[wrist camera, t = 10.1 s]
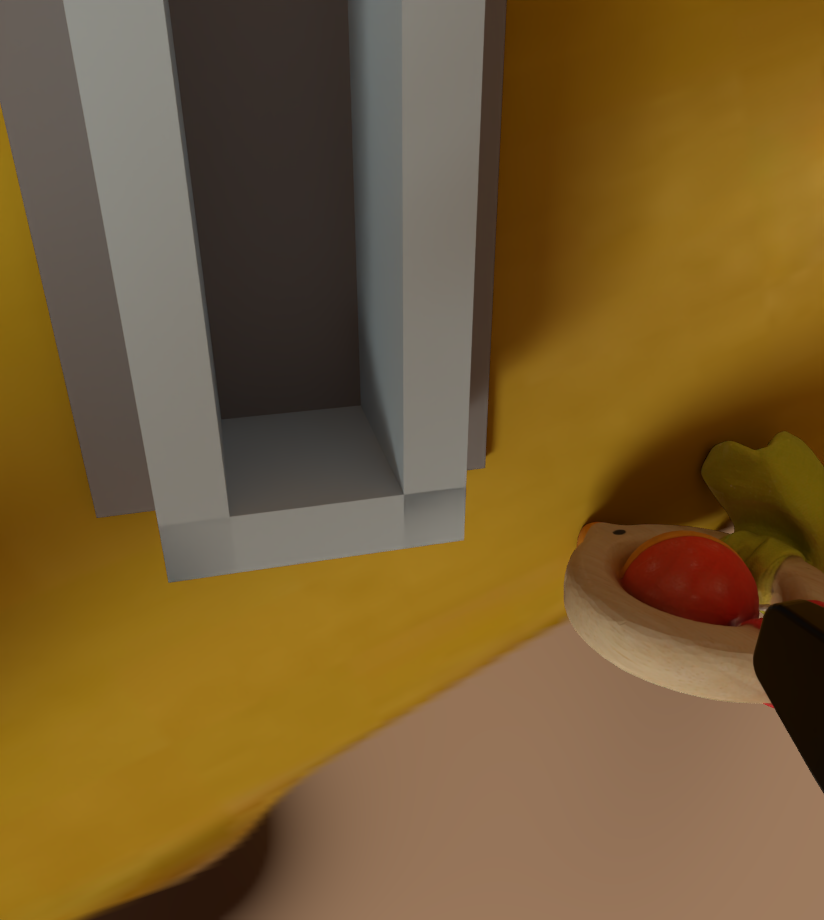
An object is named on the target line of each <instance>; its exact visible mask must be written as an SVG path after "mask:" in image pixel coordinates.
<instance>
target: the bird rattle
mask: <svg viewBox="0 0 824 920" xmlns="http://www.w3.org/2000/svg"><path fill="white" fill-rule="evenodd" d="M701 475H702V477H703V479H704V481H705V482H706V484H707V485H708V487H709V489H710V490H711V492H712V493H713V494H714V496H715V497H716V499H717V500H718V502H719V503H720V504H721V506H722V507H723V508H724V509H725V511H726V512H727V514H728V515H729V517H730V519H731V521H732V522H733V524H734V533H732V534H728V533H724V532H720V531H715V530H710V529H704V528H697V527H690V526H678V525H663V524H640V525H617V524H610V523H605V522H592V523H589V524H587V525H585V526H584V527H583V528H582V529H581V531H580V533H579V536H578V542H577V548H576V549H575V550H574V552H573V554H572V555H571V558H570V560H569V562H568V565H567V569H566V573H565V581H564V604H565V609H566V612H567V615H568V617H569V620H570V622H571V624H572V625H573V627H574V629H575V630H576V632H577V633H578V634H579V635H580V637H581V638H582V639H583V640H585V642H586V643H587V644H588V645H590V647H592V648H593V649H594V650H595V651H596V652H598V653H599V654H600V655H601V656H602V657H604V658H605V659H607V660H608V661H610V662H611V663H613V664H615V665H616V666H617V667H619V668H620V669H622V670H624V671H626V672H628V673H630V674H632V675H635V676H637V677H639V678H641V679H644V680H646V681H648V682H651V683H653V684H657V685H659V686H662V687H665V688H669V689H672V690H674V691H678V692H681V693H686V694H689V695H694V696H698V697H703V698H707V699H712V700H719V701H727V702H739V703H763V704H765V705H767V706H770V707H772V708H774V707H773V705H772V703H771V701H770V700H769V698H768V696H767V694H766V693H765V691H764V689H763V687H762V686H761V684H760V682H759V680H758V678H757V676H756V674H755V671H754V666H753V653H754V650H755V646H756V642H757V638H758V635H759V631H760V627H761V623H762V620H763V618H759V611H760V612H761V613H763V614H764V613H765V611H766V609H767V608H768V607H769V606H770V605H772V604H774V603H779V602H785V601H790V600H796V599H803V600H807V601H810V602H813V603H815V604H817V605H820V606H822V607H824V466H823V465H822V463H821V462H820V461H819V459H818V458H817V457H816V455H815V454H814V453H813V451H812V450H811V449H810V448H809V447H808V446H807V445H806V444H805V443H804V442H803V441H802V440H801V439H800V438H798V437H796V436H794V435H792V434H790V433H788V432H787V431H782V432H780V433H778V434H776V435H775V436H774V438H773V439H772V440H771V441H770V442H769V443H768V446H767V447H764V448H761V449H758V450H754V449H751V448H749V447H746V446H744V445H742V444H739V443H737V442H734V441H725V442H722V443H719V444H717V445H715V446H714V447H713V448H712V449H711V451H710V453H709V454H708V456H707V458H706V460H705V462H704V464H703V466H702V469H701Z"/></svg>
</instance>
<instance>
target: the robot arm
mask: <svg viewBox="0 0 824 920" xmlns="http://www.w3.org/2000/svg"><path fill="white" fill-rule="evenodd" d="M753 666H754V671H755V674H756V676H757V678H758V680H759V682H760V684H761V686H762V687H763V689H764V691H765V693H766V694H767V696H768V698H769V700H770V701H771V703H772V705H773V707H774V708H775V710H776V712H777V714H778V715H779V717H780V719H781V721H782V722H783V724H784V726H785V728H786V730H787V731H788V733H789V735H790V737H791V738H792V740H793V742H794V743H795V745H796V747H797V749H798V751H799V752H800V754H801V756H802V757H803V759H804V761H805V763H806V765H807V766H808V768H809V770H810V772H811V773H812V775H813V777H814V778H815V780H816V782H817V783H818V785H819V787H820V788H821V790H822V791H823V793H824V607H822V606H820V605H817V604H815V603H813V602H810V601H807V600H803V599H796V600H790V601H785V602H779V603H774V604H772V605H770V606H769V607H768V608H767V609H766V611H765V613H764V616H763V620H762V623H761V627H760V631H759V635H758V638H757V642H756V646H755V650H754V653H753Z"/></svg>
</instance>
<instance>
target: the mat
mask: <svg viewBox="0 0 824 920" xmlns="http://www.w3.org/2000/svg"><path fill="white" fill-rule="evenodd" d="M168 2H169V10H170V18H171V26H172V34H173V42H174V50H175V58H176V65H177V73H178V81H179V89H180V97H181V105H182V113H183V121H184V129H185V137H186V145H187V152H188V160H189V168H190V176H191V184H192V192H193V200H194V208H195V216H196V224H197V232H198V240H199V247H200V255H201V263H202V271H203V279H204V287H205V295H206V303H207V311H208V319H209V327H210V334H211V342H212V350H213V358H214V366H215V374H216V382H217V390H218V398H219V406H220V414H221V419H231V418H241V417H250V416H260V415H270V414H280V413H290V412H300V411H310V410H320V409H330V408H339V407H349V406H359V405H361V396H360V365H359V334H358V303H357V272H356V241H355V210H354V180H353V149H352V118H351V87H350V56H349V25H348V0H168ZM506 3H507V0H485V20H484V46H483V71H482V96H481V121H480V146H479V171H478V196H477V221H476V247H475V272H474V297H473V322H472V347H471V372H470V397H469V423H468V448H467V470H472V469H480V468H485V457H486V435H487V414H488V392H489V370H490V349H491V327H492V306H493V284H494V262H495V241H496V219H497V198H498V176H499V154H500V133H501V111H502V90H503V68H504V46H505V25H506ZM0 103H1V107H2V112H3V116H4V120H5V125H6V129H7V133H8V138H9V142H10V146H11V151H12V155H13V159H14V163H15V168H16V172H17V176H18V181H19V185H20V189H21V194H22V198H23V202H24V206H25V211H26V215H27V219H28V224H29V228H30V232H31V237H32V241H33V245H34V250H35V254H36V258H37V262H38V267H39V271H40V275H41V280H42V284H43V288H44V293H45V297H46V301H47V306H48V310H49V314H50V318H51V323H52V327H53V331H54V336H55V340H56V344H57V349H58V353H59V357H60V361H61V366H62V370H63V374H64V379H65V383H66V387H67V392H68V396H69V400H70V405H71V409H72V413H73V417H74V422H75V426H76V430H77V435H78V439H79V443H80V448H81V452H82V456H83V460H84V465H85V469H86V473H87V478H88V482H89V486H90V491H91V495H92V499H93V504H94V508H95V512H96V516H97V518H100V517H108V516H115V515H123V514H131V513H139V512H146V511H154V510H155V505H154V499H153V494H152V488H151V483H150V477H149V471H148V466H147V460H146V455H145V449H144V444H143V438H142V433H141V427H140V422H139V416H138V411H137V405H136V400H135V394H134V389H133V383H132V378H131V372H130V367H129V361H128V356H127V350H126V345H125V339H124V334H123V328H122V323H121V317H120V312H119V306H118V301H117V295H116V290H115V284H114V279H113V273H112V268H111V262H110V257H109V251H108V246H107V240H106V235H105V229H104V224H103V218H102V213H101V207H100V202H99V196H98V191H97V185H96V180H95V174H94V169H93V163H92V158H91V152H90V147H89V141H88V136H87V130H86V125H85V119H84V114H83V108H82V103H81V97H80V92H79V86H78V81H77V75H76V70H75V64H74V59H73V53H72V48H71V42H70V36H69V31H68V25H67V20H66V14H65V9H64V3H63V0H0Z"/></svg>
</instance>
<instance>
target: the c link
mask: <svg viewBox="0 0 824 920" xmlns="http://www.w3.org/2000/svg"><path fill="white" fill-rule="evenodd" d="M63 3H64V9H65V14H66V20H67V25H68V31H69V36H70V42H71V48H72V53H73V59H74V64H75V70H76V75H77V81H78V86H79V92H80V97H81V103H82V108H83V114H84V119H85V125H86V130H87V136H88V141H89V147H90V152H91V158H92V163H93V169H94V174H95V180H96V185H97V191H98V196H99V202H100V207H101V213H102V218H103V224H104V229H105V235H106V240H107V246H108V251H109V257H110V262H111V268H112V273H113V279H114V284H115V290H116V295H117V301H118V306H119V312H120V317H121V323H122V328H123V334H124V339H125V345H126V350H127V356H128V361H129V367H130V372H131V378H132V383H133V389H134V394H135V400H136V405H137V411H138V416H139V422H140V427H141V433H142V438H143V444H144V449H145V455H146V460H147V466H148V471H149V477H150V483H151V488H152V494H153V499H154V505H155V510H156V516H157V521H158V527H159V532H160V538H161V543H162V549H163V554H164V560H165V565H166V571H167V576H168V582H176V581H183V580H190V579H197V578H204V577H211V576H218V575H224V574H231V573H238V572H245V571H252V570H259V569H266V568H273V567H280V566H287V565H294V564H301V563H308V562H315V561H322V560H329V559H335V558H342V557H349V556H356V555H363V554H370V553H377V552H384V551H391V550H398V549H405V548H412V547H419V546H426V545H433V544H440V543H447V542H453V541H460V540H464V523H465V498H466V473H467V448H468V423H469V397H470V372H471V347H472V322H473V297H474V272H475V247H476V221H477V196H478V171H479V146H480V121H481V96H482V71H483V46H484V20H485V0H348V25H349V56H350V87H351V118H352V149H353V180H354V210H355V241H356V272H357V303H358V334H359V365H360V396H361V405H359V406H349V407H339V408H330V409H320V410H310V411H300V412H290V413H280V414H270V415H260V416H250V417H241V418H231V419H221V414H220V406H219V398H218V390H217V382H216V374H215V366H214V358H213V350H212V342H211V334H210V327H209V319H208V311H207V303H206V295H205V287H204V279H203V271H202V263H201V255H200V247H199V240H198V232H197V224H196V216H195V208H194V200H193V192H192V184H191V176H190V168H189V160H188V152H187V145H186V137H185V129H184V121H183V113H182V105H181V97H180V89H179V81H178V73H177V65H176V58H175V50H174V42H173V34H172V26H171V18H170V10H169V2H168V0H63Z"/></svg>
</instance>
